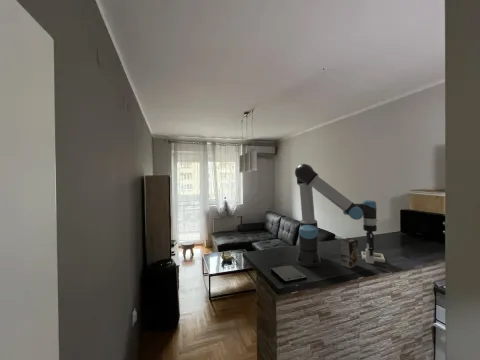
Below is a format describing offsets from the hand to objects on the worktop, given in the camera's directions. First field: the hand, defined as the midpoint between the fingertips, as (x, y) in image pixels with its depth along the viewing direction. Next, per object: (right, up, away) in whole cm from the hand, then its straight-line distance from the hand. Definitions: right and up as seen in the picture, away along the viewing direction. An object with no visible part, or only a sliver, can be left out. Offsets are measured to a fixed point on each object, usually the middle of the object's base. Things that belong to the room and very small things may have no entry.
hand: (370, 256), depth 144 cm
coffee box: (-16, -4, -4) cm, 17 cm away
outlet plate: (+6, -3, +7) cm, 10 cm away
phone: (-3, -4, +15) cm, 16 cm away
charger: (0, -3, 0) cm, 3 cm away
